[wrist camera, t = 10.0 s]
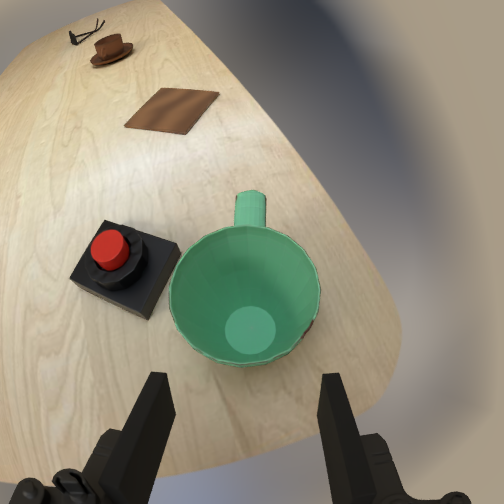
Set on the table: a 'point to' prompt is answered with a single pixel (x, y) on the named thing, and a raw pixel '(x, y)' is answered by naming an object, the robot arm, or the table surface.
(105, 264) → the stop button
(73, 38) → the sunglasses
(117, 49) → the cup and saucer
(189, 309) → the mug
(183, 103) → the brown pad
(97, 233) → the control block
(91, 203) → the table surface
